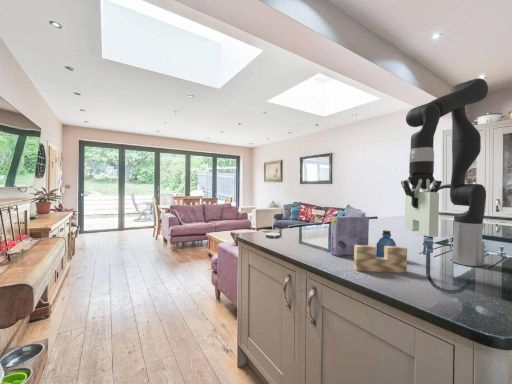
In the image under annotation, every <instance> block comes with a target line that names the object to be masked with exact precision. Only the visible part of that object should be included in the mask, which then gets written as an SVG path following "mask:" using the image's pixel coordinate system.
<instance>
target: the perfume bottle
mask: <svg viewBox="0 0 512 384" xmlns="http://www.w3.org/2000/svg"><path fill="white" fill-rule="evenodd" d="M381 236H382V237H380V238H379V240H378V241H377V242H376V257H382V258H384V246H397V244H396V242H395V240H394V238H391V237H392V233H391V230H382V233H381Z"/></svg>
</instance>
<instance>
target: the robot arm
mask: <svg viewBox="0 0 512 384" xmlns="http://www.w3.org/2000/svg"><path fill="white" fill-rule="evenodd" d="M488 92H489V86H488V83H487V81H486V80H485V79H483V78H474V79H471V80H467V81H465V82H460V83H458V84H455V85H454V86H453V87H452V88H451V89H450V93H447V94H445V95H442V96H439V97H437V98H435V99H433V100H431V101H430V102H428V103H425V104H421V105H419V106H416V107H414V108H411V109H409V111H408V112H407V114H406V115H405V122H406V124H407V125H408V126H410V127H412V128H417V127H421V128H420V129H419V130H418V131H416V132H415V133H412V135H411V137H410V152H409V167H408V168H409V171H408V173H409V174H408V175H409V176H408V178H407V179H405V180H401V182H400V184H401V186H402V189H403V191H404V194H405V193H406V195H407V196H410V197H411V198H412V206H413V208H418V198H417V197H418V192H437V193H439V189H440V187H441V185H442V182H443V181H442V180H437V179H435V177H434V172H435V170H434V169H435V168H434V166H435V151H434V150H435V149H434V140H435V139H434V138H435V134H436V131H437V127H438V125H439V121H440V118H442V117H444V116H446V115H448V114H449V113H451V124H452V125H451V126H452V130H451V133H452V134H451V135H452V136H451V155H452V156H451V157H452V164H451V165H452V166H451V177H450V178H451V180H450V186H449V187H450V188H449V189H450V190H449V199H450V202H451V203H452V204H453V205H454V206H460V207H461V206H462V207H463V206H464V207H468V210H466V211H465V212H461V213H456V214H455V215H454V217H453V239H452V240H453V241H452V262H453V263H455V264H459V265H464V266H470V267H481V266H485V249H486V248H485V247H486V245H485V242H484V241H483V231H484V230H483V229H484V228H483V225H484V224H483V223H484V219H485V211H486V201H487V191H486V190H487V189H486V187H485V186H484V184H481V183H480V184H479V183H466V175H467V172H468V170H469V169H470V167H471V166H472V165H473V164H474V162H476V159H477V158H478V157H479V155H480V153H481V147H482V145H481V143H482V142H481V141H482V140H481V139H482V138H481V137H482V136H481V134H480V131H479V130H478V129H477V128H476V126H475V125H474V124H473V123H472V122H471V121H470V120H469V118H468V116H467V113H466V106H467V105H468V106H469V105H473V104H476V103H479V102H481V101H483V100H484V99H485V98H486V97H487V95H488ZM410 184H411V187H410Z"/></svg>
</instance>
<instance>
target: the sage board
mask: <svg viewBox="0 0 512 384" xmlns="http://www.w3.org/2000/svg"><path fill="white" fill-rule="evenodd" d="M404 195H405V199H404V205H405V206H404V229H405V230H407V231H411V232H418V234H420V235H423V236H425V237H427V238H428V237H430V238H438V237H439V219H440V217H439V214H440V211H439V210H440V192H422V191H419V192H418V197H417V198H418V208H413V206H412V198H411V197H410V196H407V195H406V193H405V192H404Z"/></svg>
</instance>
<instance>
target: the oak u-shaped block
mask: <svg viewBox="0 0 512 384" xmlns="http://www.w3.org/2000/svg"><path fill="white" fill-rule="evenodd" d="M376 248H377V246H374V245H369V244H368V245H354V255H353V269H354V270H355V271H356V272H357V271H358V272H377V273H378V272H380V273H382V272H383V273H402V272H403V273H404V274H406V273H407V269H408V268H407V266H408V248H407V247H405V246H398V245H396V246H384V258H382V257H376Z"/></svg>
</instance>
